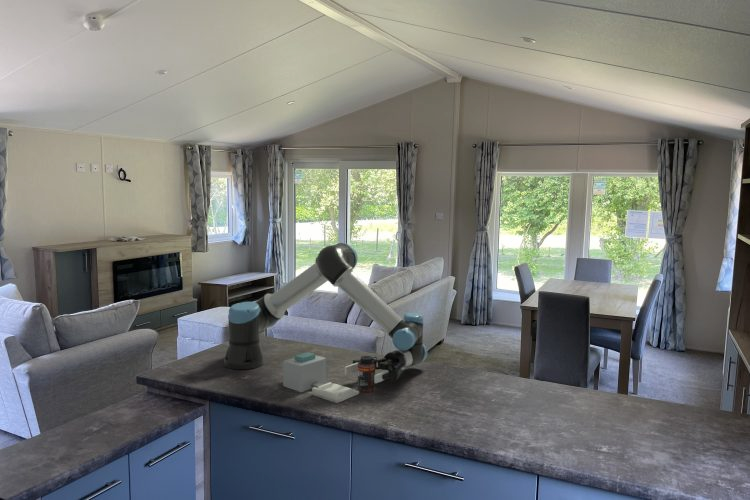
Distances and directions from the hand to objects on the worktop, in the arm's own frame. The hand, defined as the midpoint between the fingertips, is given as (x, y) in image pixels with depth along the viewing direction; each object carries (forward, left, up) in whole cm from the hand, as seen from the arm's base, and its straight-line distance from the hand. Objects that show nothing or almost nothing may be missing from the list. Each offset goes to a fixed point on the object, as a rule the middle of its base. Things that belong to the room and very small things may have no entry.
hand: (359, 375), depth 180 cm
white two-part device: (-15, -2, -6) cm, 16 cm away
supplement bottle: (+1, +3, -6) cm, 7 cm away
